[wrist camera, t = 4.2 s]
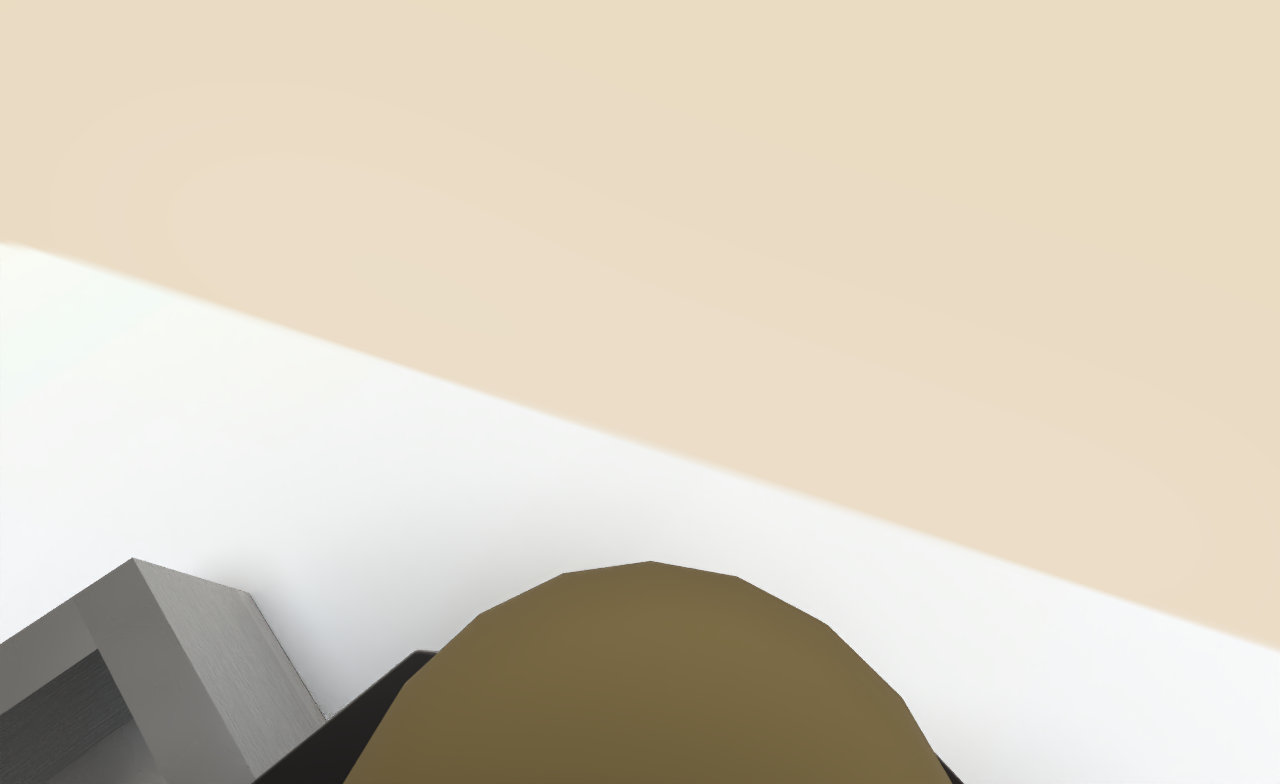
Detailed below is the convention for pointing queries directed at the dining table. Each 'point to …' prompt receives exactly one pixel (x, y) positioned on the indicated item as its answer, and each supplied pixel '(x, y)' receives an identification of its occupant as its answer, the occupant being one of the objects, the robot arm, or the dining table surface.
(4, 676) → the square metal tray
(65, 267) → the dining table surface
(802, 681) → the cork
